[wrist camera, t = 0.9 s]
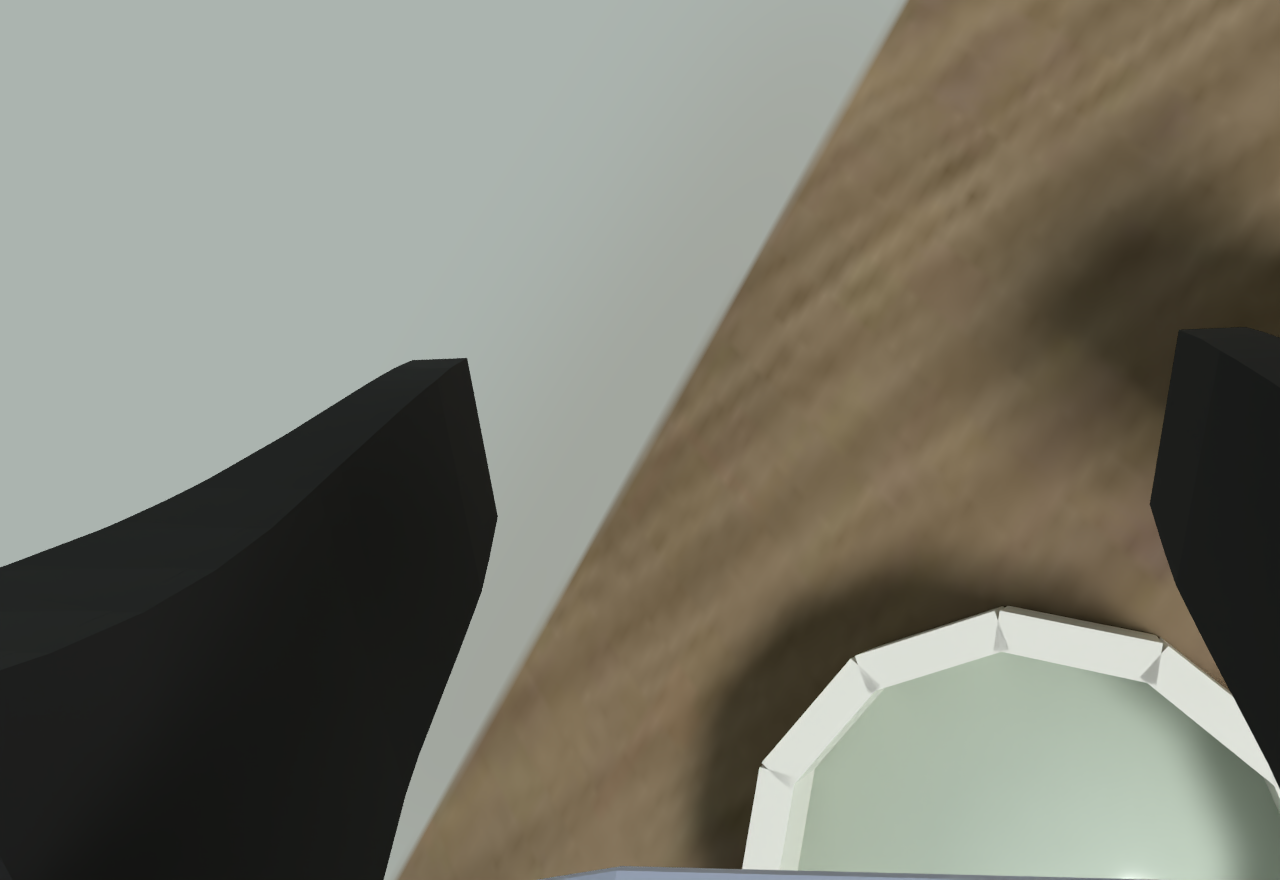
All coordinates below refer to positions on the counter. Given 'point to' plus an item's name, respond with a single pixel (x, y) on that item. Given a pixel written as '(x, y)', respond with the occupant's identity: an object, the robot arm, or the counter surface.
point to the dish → (1020, 761)
